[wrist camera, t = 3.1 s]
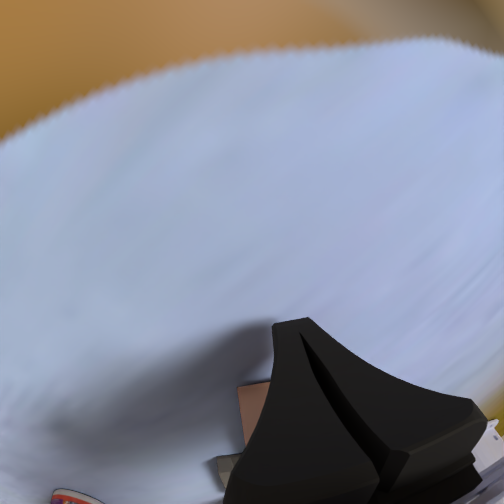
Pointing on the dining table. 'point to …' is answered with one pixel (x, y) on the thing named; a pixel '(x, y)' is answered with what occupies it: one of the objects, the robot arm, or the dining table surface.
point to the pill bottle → (72, 498)
